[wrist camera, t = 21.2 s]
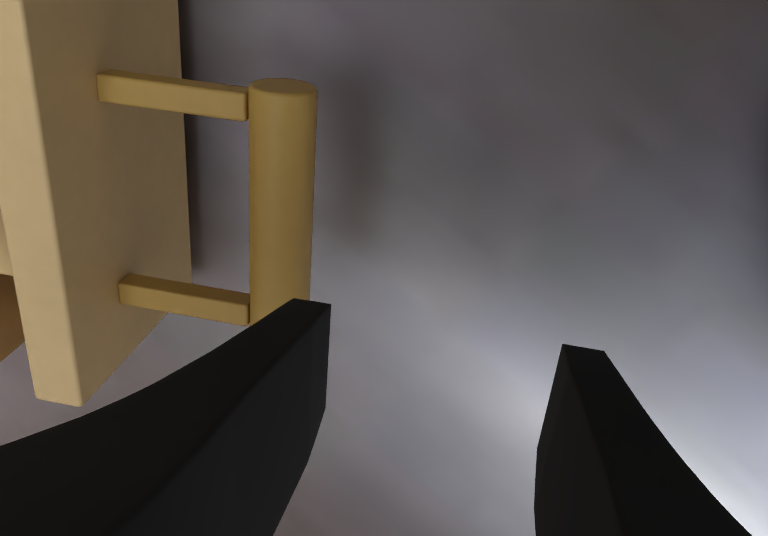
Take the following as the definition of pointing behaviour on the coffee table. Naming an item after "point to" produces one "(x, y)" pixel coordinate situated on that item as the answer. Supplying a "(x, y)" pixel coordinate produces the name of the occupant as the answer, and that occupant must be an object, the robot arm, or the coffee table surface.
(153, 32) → the drawer
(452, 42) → the coffee table surface
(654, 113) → the coffee table surface
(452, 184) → the coffee table surface
